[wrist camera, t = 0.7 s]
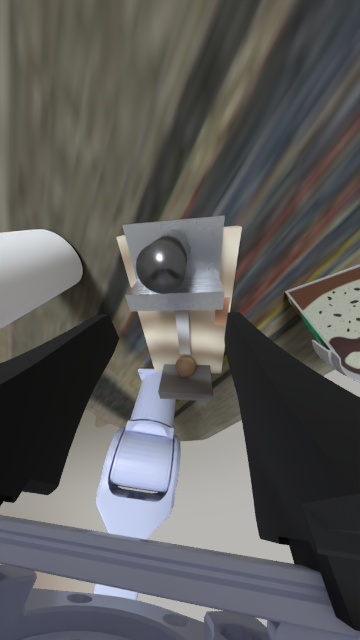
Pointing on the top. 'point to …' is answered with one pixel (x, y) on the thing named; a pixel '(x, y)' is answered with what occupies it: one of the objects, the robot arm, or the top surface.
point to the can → (34, 271)
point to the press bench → (189, 332)
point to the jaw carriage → (176, 264)
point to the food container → (333, 318)
